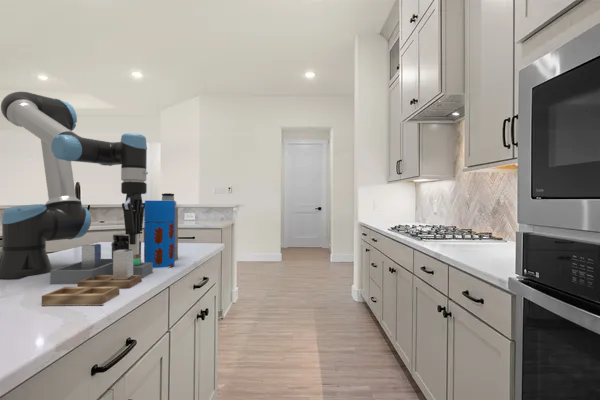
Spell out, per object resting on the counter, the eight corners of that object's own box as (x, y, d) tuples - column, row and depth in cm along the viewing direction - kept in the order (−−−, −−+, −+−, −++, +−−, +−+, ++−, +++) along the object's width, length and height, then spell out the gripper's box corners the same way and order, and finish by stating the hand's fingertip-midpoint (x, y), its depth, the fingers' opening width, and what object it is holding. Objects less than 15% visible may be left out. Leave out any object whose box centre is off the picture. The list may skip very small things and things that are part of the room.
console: (113, 280, 115) (113, 267, 115) (125, 274, 124) (125, 262, 124) (142, 280, 116) (142, 267, 116) (152, 274, 125) (152, 262, 125)
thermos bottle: (163, 258, 159) (163, 193, 159) (180, 258, 159) (181, 193, 159) (154, 261, 151) (154, 193, 151) (172, 261, 151) (173, 193, 151)
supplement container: (133, 267, 137) (133, 235, 137) (105, 267, 137) (105, 235, 137) (146, 262, 148) (146, 233, 148) (120, 262, 148) (120, 232, 148)
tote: (50, 286, 107) (50, 270, 107) (90, 271, 129) (90, 258, 129) (92, 285, 108) (92, 270, 108) (125, 271, 130) (125, 258, 130)
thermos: (180, 265, 142) (181, 200, 142) (161, 270, 132) (162, 200, 132) (157, 263, 146) (158, 200, 146) (137, 268, 136) (137, 200, 136)
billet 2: (113, 286, 105) (113, 251, 105) (119, 283, 109) (119, 249, 109) (127, 286, 105) (127, 250, 105) (133, 283, 109) (133, 249, 109)
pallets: (41, 306, 87) (41, 295, 87) (94, 283, 111) (94, 275, 111) (102, 306, 87) (102, 295, 87) (141, 283, 111) (141, 275, 111)
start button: (124, 269, 118) (124, 259, 118) (130, 266, 122) (130, 257, 122) (137, 269, 118) (137, 259, 118) (142, 266, 122) (142, 257, 122)
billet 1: (81, 277, 116) (81, 245, 116) (88, 274, 120) (88, 243, 120) (94, 277, 117) (94, 245, 117) (100, 274, 121) (100, 243, 121)
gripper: (137, 180, 114) (137, 257, 114) (152, 182, 127) (152, 251, 127) (113, 180, 113) (113, 257, 113) (130, 182, 126) (130, 251, 126)
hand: (134, 254), depth 120 cm, fingers closed
